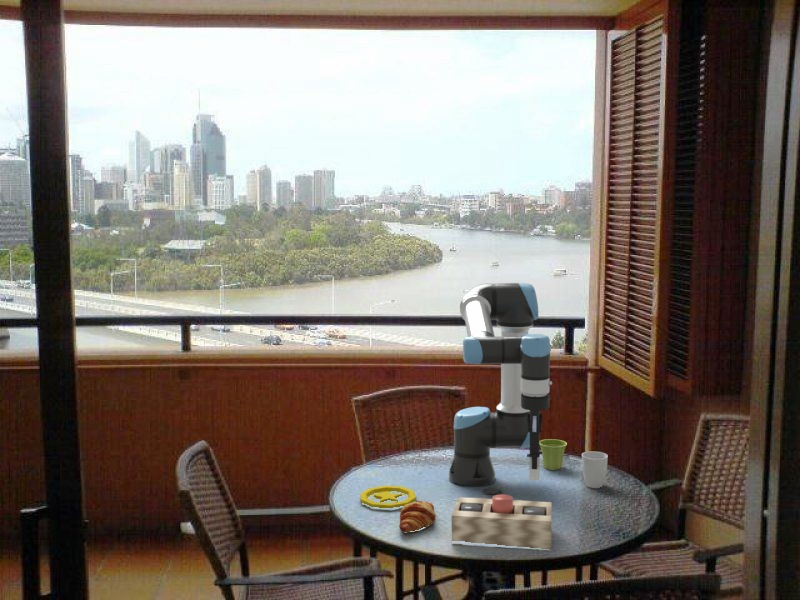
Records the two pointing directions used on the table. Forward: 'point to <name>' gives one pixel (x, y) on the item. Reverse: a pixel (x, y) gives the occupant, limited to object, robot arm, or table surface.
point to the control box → (502, 524)
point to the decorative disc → (387, 496)
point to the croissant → (416, 516)
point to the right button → (534, 511)
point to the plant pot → (552, 453)
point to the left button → (471, 507)
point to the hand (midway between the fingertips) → (534, 479)
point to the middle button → (502, 504)
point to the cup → (594, 468)
